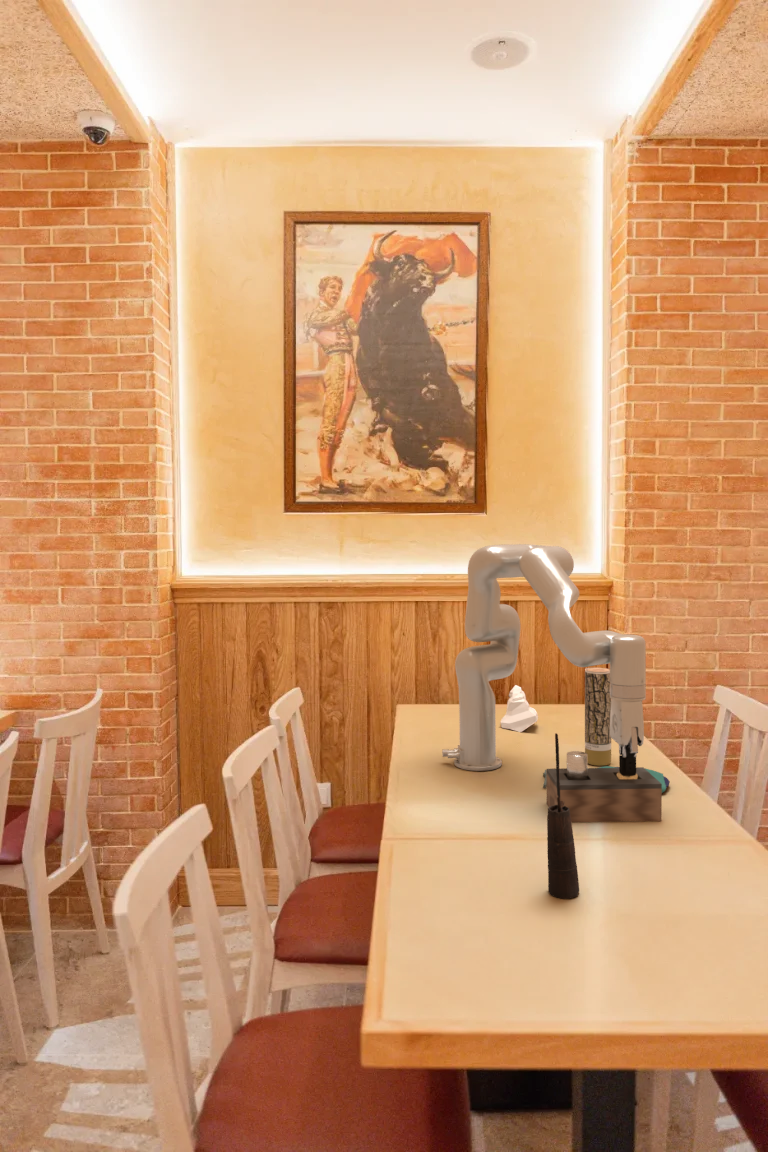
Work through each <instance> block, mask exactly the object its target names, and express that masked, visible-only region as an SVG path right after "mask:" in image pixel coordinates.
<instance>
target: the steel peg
mask: <svg viewBox="0 0 768 1152" xmlns="http://www.w3.org/2000/svg"><path fill="white" fill-rule="evenodd" d="M566 768H567V779H568V780H587V768H588V763H587V753H585V751H579V750H577V751H576V750H573V751H572V750H571V751H567V752H566Z"/></svg>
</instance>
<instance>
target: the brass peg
mask: <svg viewBox="0 0 768 1152" xmlns="http://www.w3.org/2000/svg"><path fill="white" fill-rule="evenodd" d="M617 778H618V779H638V774H636V775H626V776H623V775H622V774H621V773H620V772H618V773H617Z"/></svg>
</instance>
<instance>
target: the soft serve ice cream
mask: <svg viewBox="0 0 768 1152" xmlns="http://www.w3.org/2000/svg"><path fill="white" fill-rule="evenodd" d="M526 696H527V695H526V693H525V691H523V690H522V687H521V686H519V685H517V684H515V685H514V686H513V687H512V689H511V690H510V691H509V694H508V697H509V698H508V700H507V705H506V713H505V714H503V715H504V716H503V717H501V719H500V726H501V729H508V730H512V731H514V732H518V733H522V732H524V731H525V730H526V729H528V728H529V727H532V725H533V724H535V723H536V722H538V719H539V714H538V712H537V711H536V709H535V708H533V707H531V706H530V704H529V702H528V700H527V697H526Z"/></svg>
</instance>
